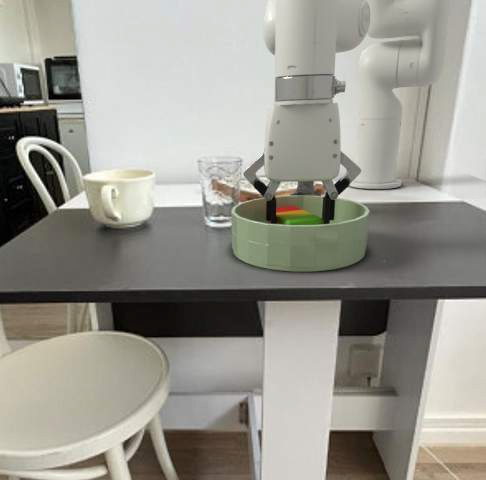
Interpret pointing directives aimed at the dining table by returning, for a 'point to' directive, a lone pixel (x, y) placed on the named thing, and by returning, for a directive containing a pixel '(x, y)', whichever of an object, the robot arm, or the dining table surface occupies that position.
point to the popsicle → (296, 217)
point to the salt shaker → (305, 189)
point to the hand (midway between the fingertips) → (299, 224)
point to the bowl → (300, 235)
